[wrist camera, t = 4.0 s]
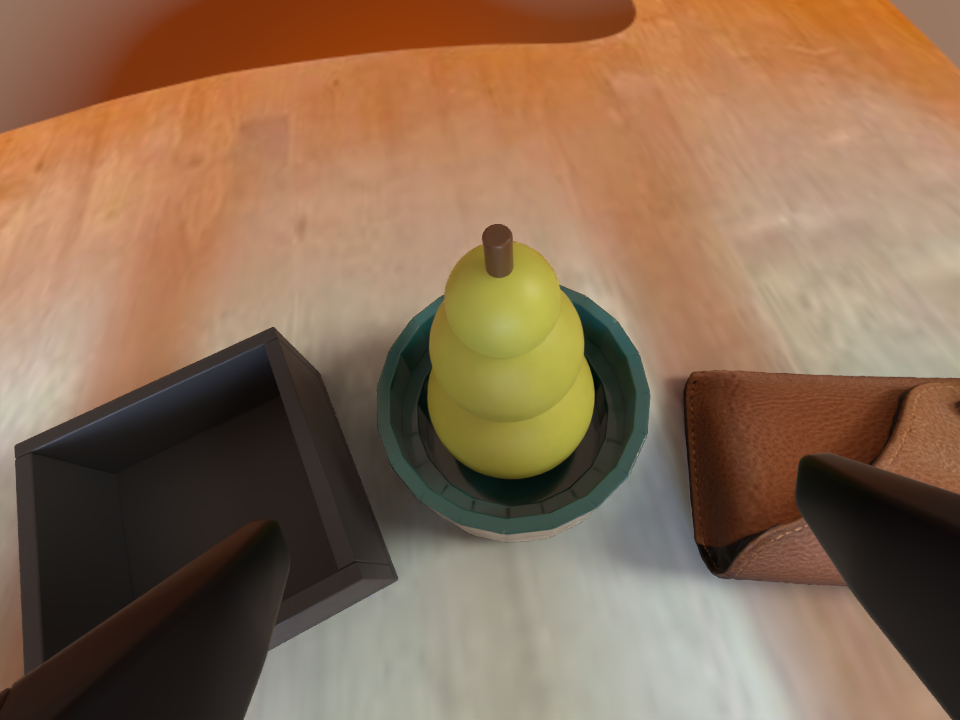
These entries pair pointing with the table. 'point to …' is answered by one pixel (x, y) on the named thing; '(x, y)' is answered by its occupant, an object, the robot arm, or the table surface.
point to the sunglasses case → (785, 440)
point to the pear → (508, 363)
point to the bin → (193, 494)
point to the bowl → (528, 501)
